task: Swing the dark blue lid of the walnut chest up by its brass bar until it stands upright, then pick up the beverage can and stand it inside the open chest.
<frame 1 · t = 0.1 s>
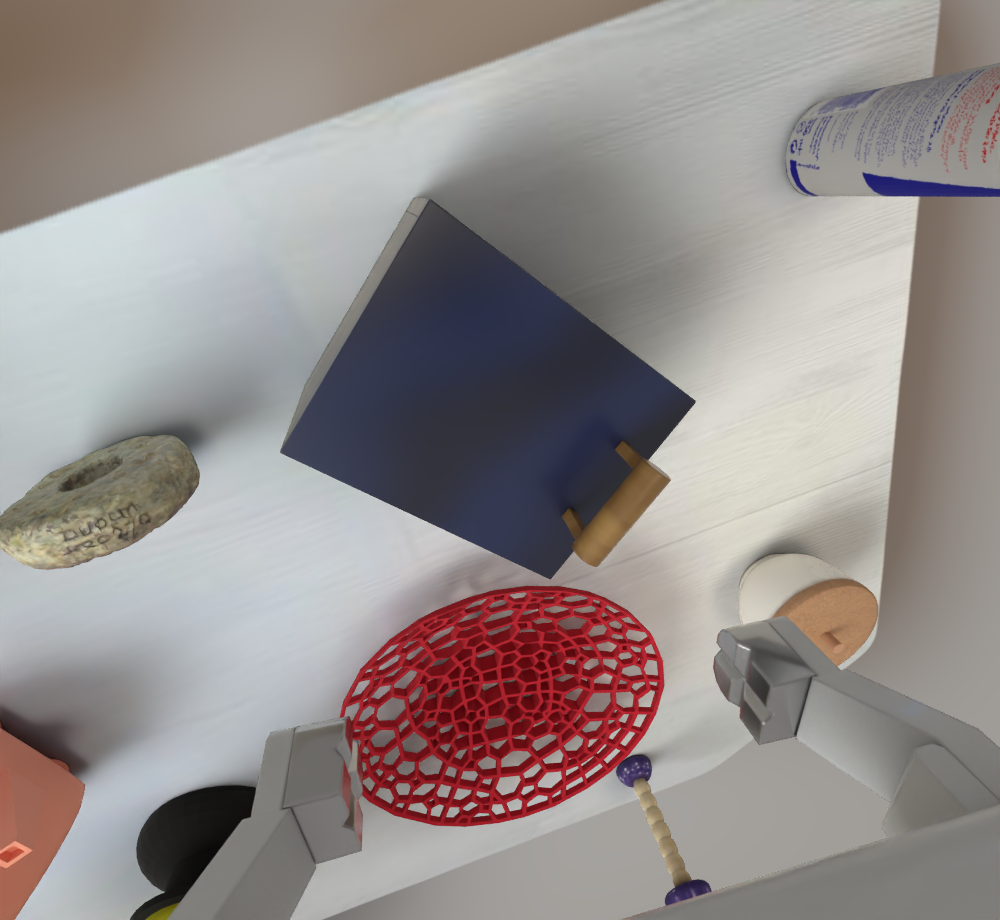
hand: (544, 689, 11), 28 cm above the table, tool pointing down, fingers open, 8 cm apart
stone ring: (140, 457, 36), on the table
lantern: (222, 832, 53), on the table
trinket box: (765, 577, 53), on the table
beverage can: (816, 149, 36), on the table
toy lamp: (630, 767, 63), on the table
bowl: (497, 675, 52), on the table
lid: (509, 439, 26), point 13 cm above the table, hinge at 0.0°
chest: (465, 364, 37), on the table
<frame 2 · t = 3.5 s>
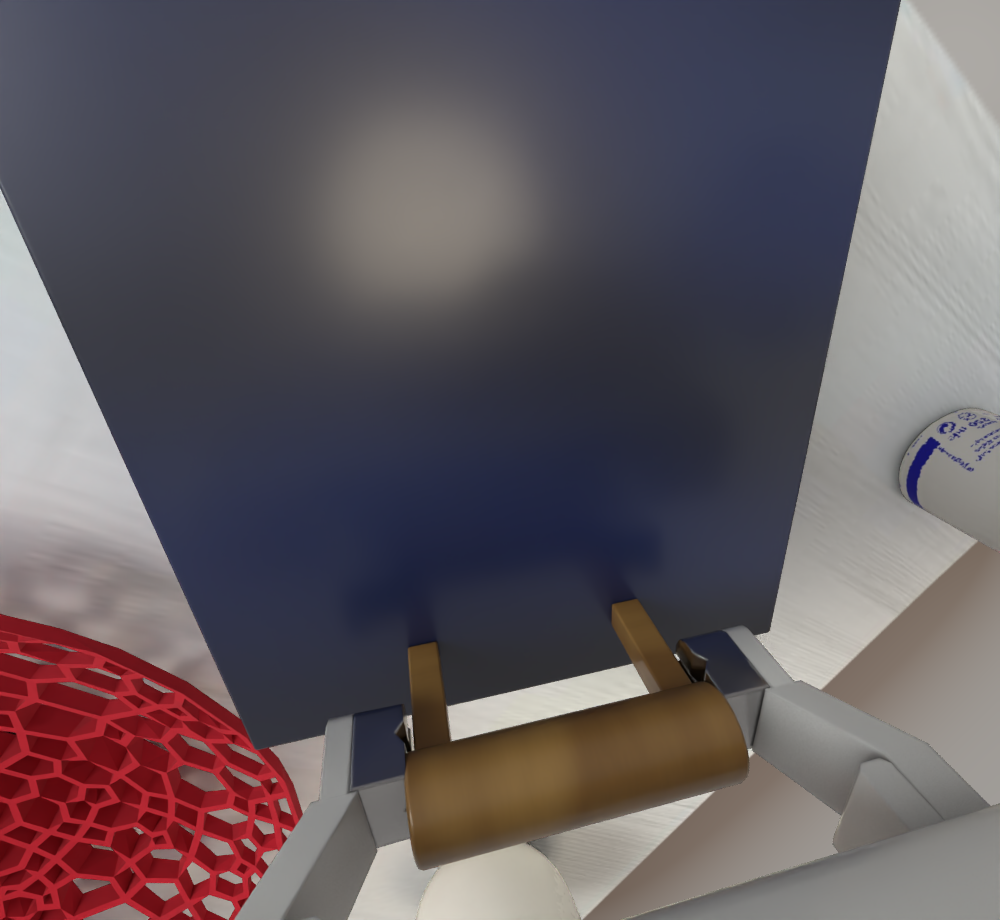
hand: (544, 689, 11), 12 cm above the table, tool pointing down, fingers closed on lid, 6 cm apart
trinket box: (483, 855, 36), on the table
beverage can: (935, 452, 28), on the table
lid: (531, 390, 8), point 13 cm above the table, hinge at 0.1°, touching gripper
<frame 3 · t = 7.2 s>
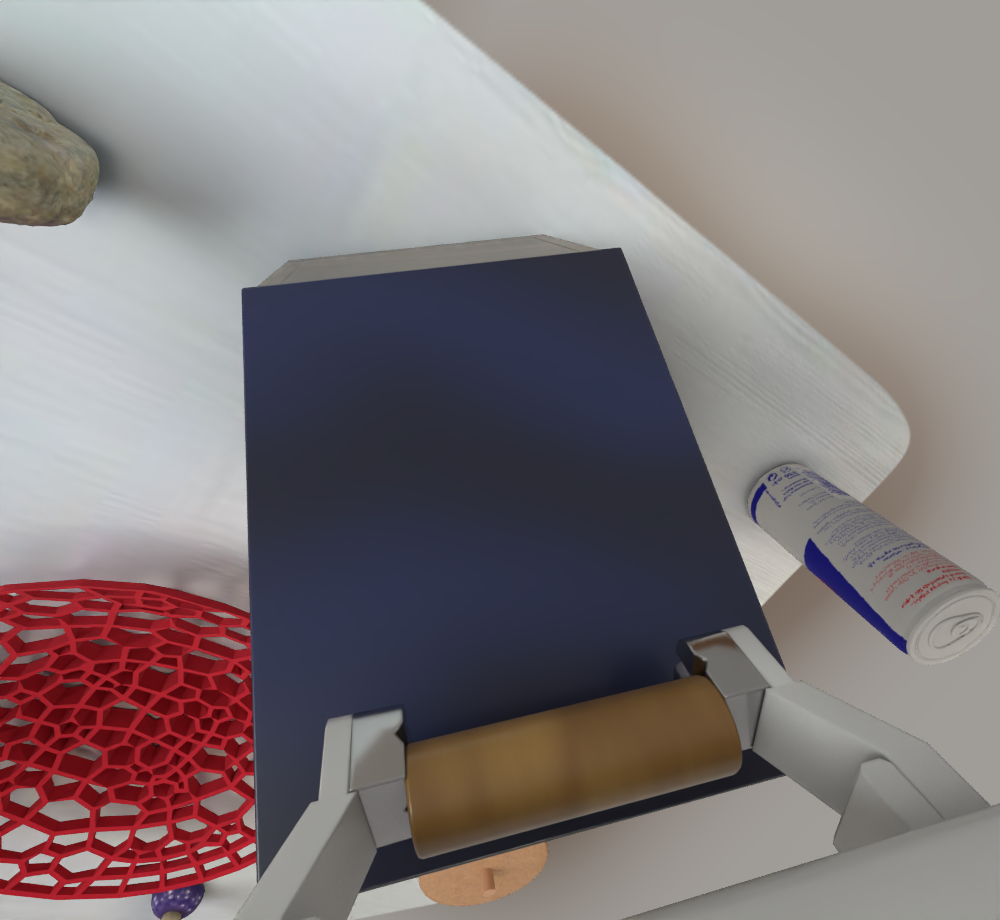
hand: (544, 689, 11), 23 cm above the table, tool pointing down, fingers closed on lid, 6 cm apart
stone ring: (9, 124, 23), on the table
trinket box: (470, 775, 50), on the table
beverage can: (774, 491, 42), on the table
toy lamp: (176, 890, 49), on the table
bowl: (145, 700, 38), on the table
lid: (492, 467, 14), point 19 cm above the table, hinge at 50.8°, touching gripper
chest: (440, 393, 32), on the table
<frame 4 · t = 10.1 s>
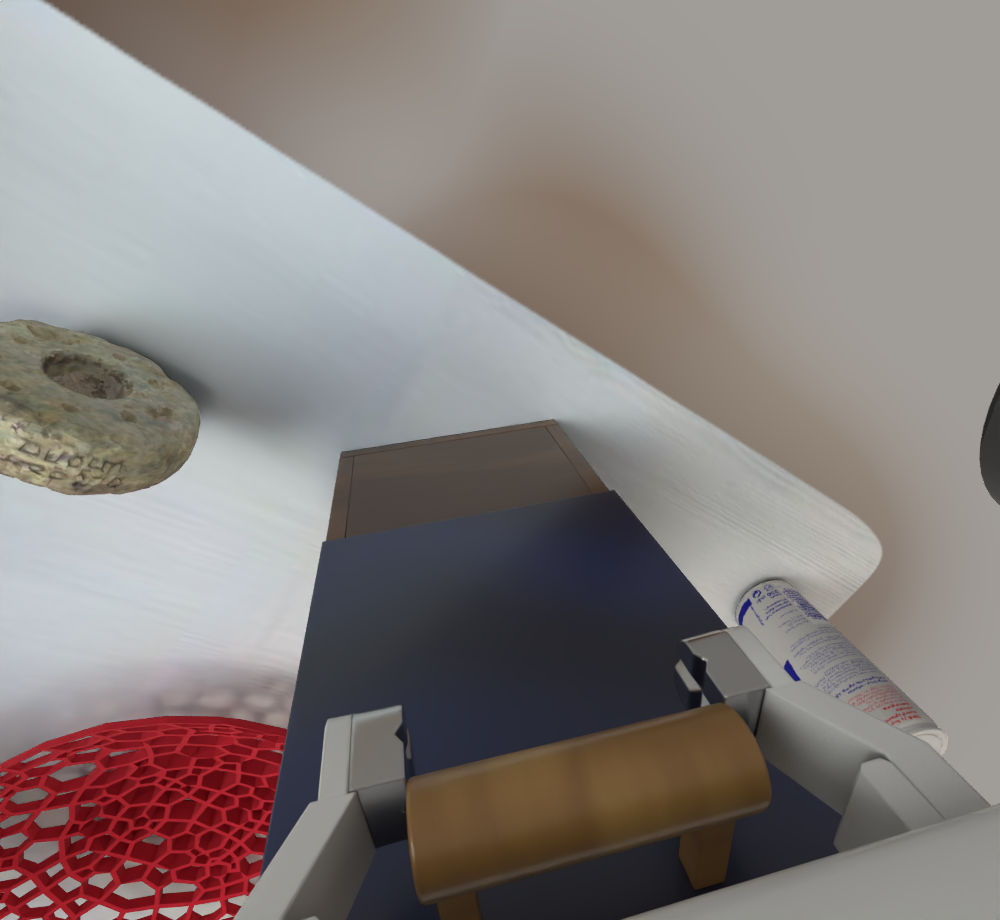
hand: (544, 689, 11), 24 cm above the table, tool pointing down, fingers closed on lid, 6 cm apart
stone ring: (124, 371, 29), on the table
beverage can: (760, 600, 47), on the table
bowl: (204, 792, 44), on the table
lid: (510, 610, 16), point 19 cm above the table, hinge at 91.1°, touching gripper
chest: (464, 542, 38), on the table
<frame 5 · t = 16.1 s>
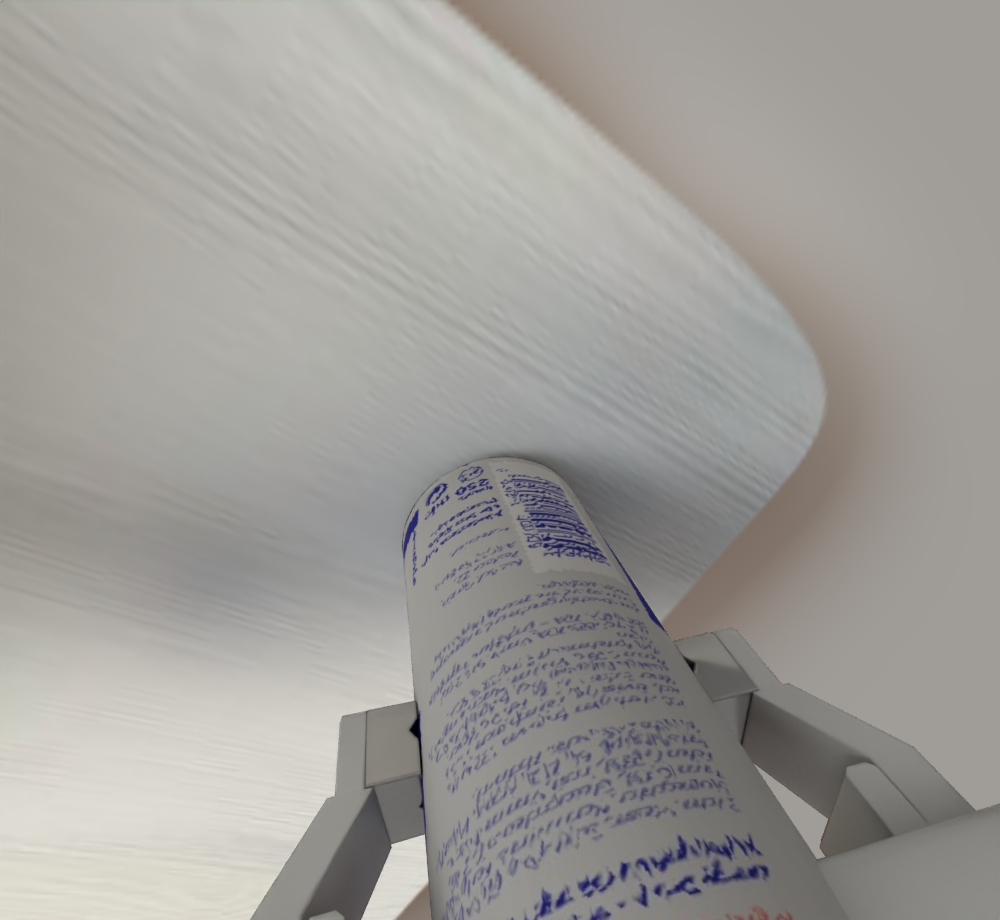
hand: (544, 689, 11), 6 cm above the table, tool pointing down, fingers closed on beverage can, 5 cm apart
beverage can: (490, 526, 17), on the table, touching gripper
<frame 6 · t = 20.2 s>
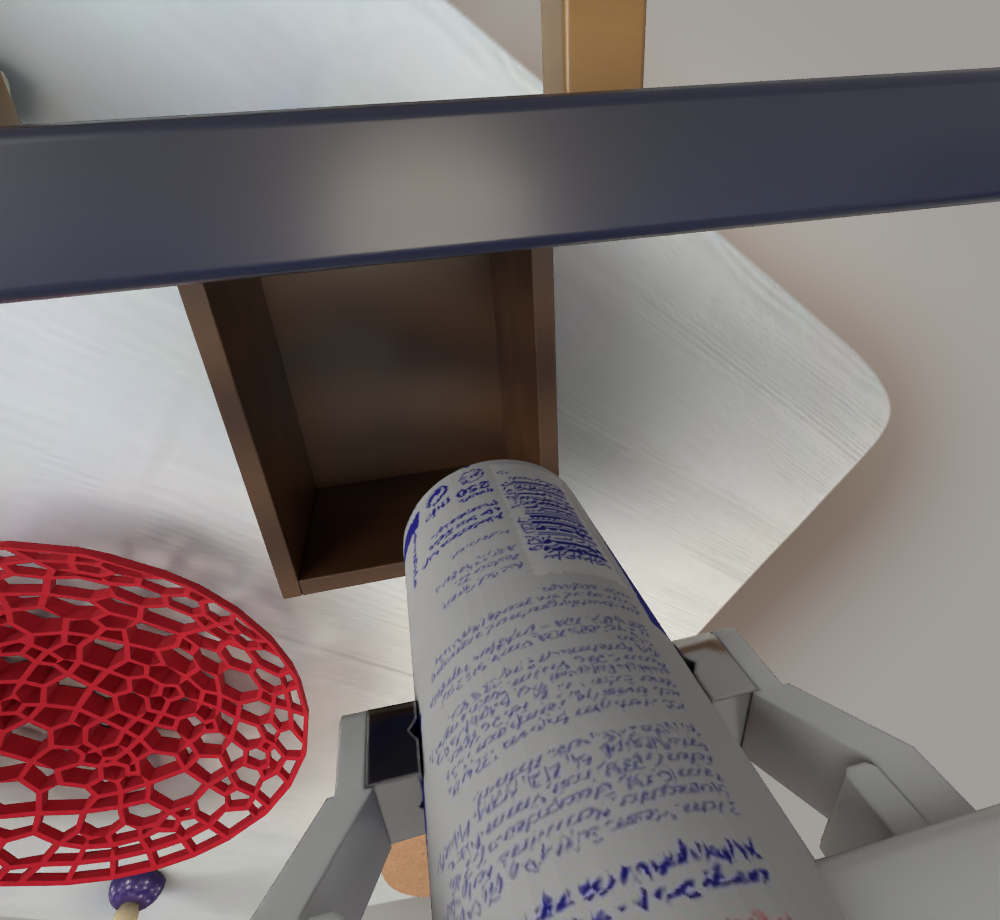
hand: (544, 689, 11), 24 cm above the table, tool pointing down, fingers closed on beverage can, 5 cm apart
trinket box: (440, 763, 49), on the table
beverage can: (490, 528, 17), point 17 cm above the table, touching gripper
toy lamp: (135, 881, 47), on the table
bowl: (94, 678, 37), on the table
lid: (325, 58, 10), point 19 cm above the table, hinge at 90.1°
chest: (394, 354, 31), on the table
when the fingers open (7 cm above the table, at t = 24.8 s): beverage can stays where it is, resting on chest.
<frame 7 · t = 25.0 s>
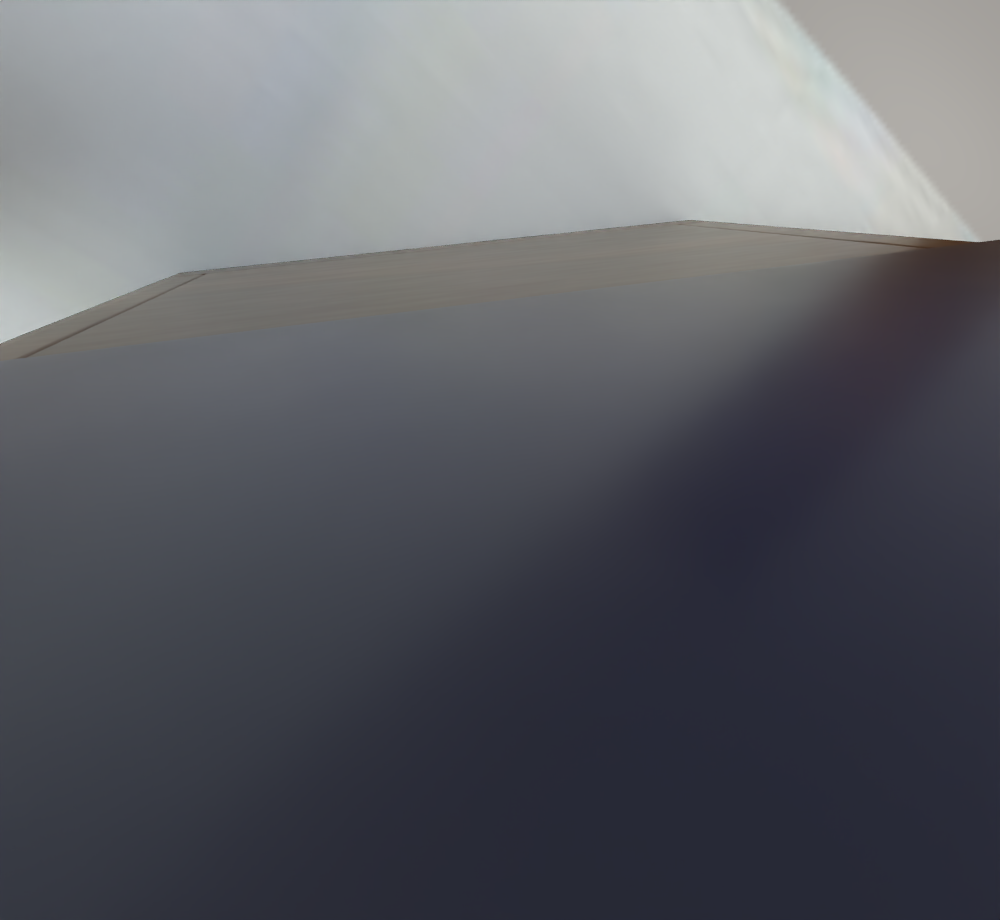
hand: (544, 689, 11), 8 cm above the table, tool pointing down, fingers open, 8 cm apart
chest: (481, 509, 18), on the table
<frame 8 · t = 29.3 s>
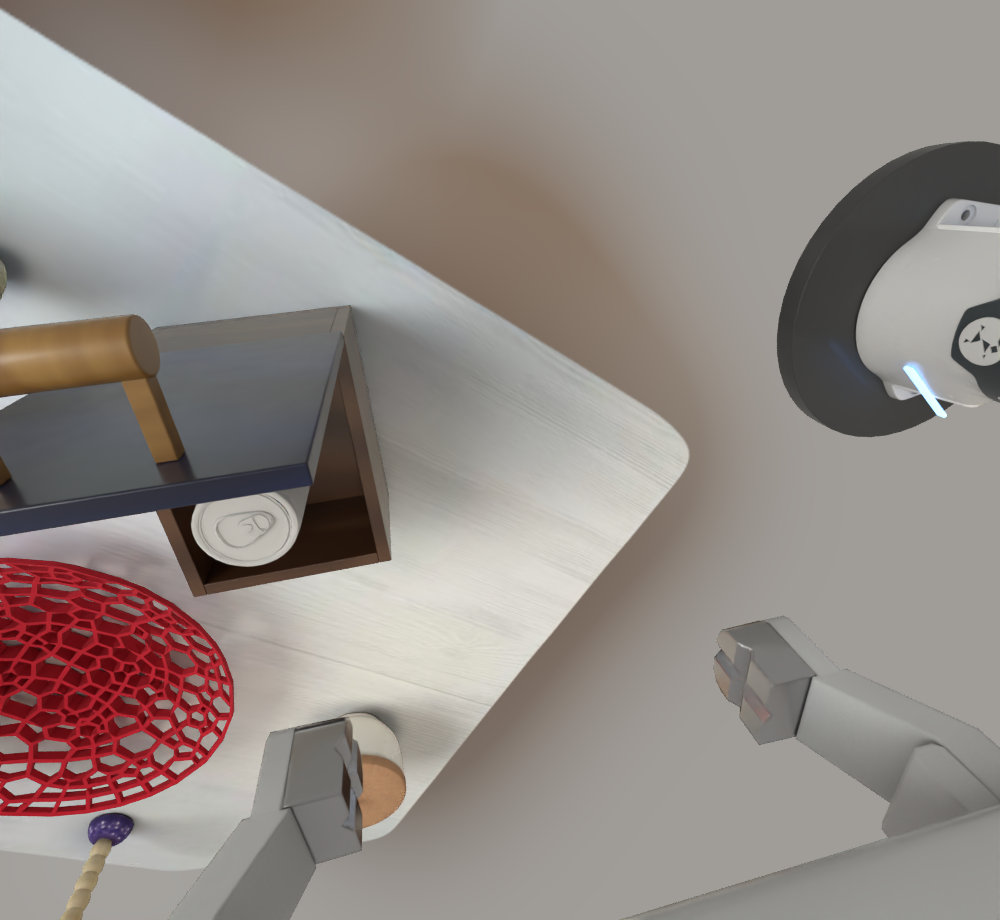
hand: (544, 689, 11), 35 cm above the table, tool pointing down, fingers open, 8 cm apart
trinket box: (354, 729, 60), on the table
beverage can: (286, 424, 43), point 1 cm above the table, touching chest
toy lamp: (109, 824, 59), on the table
bowl: (72, 658, 49), on the table
lid: (145, 355, 22), point 19 cm above the table, hinge at 90.1°
chest: (285, 420, 43), on the table
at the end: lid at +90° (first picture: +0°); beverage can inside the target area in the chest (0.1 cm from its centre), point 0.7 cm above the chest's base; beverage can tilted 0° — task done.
